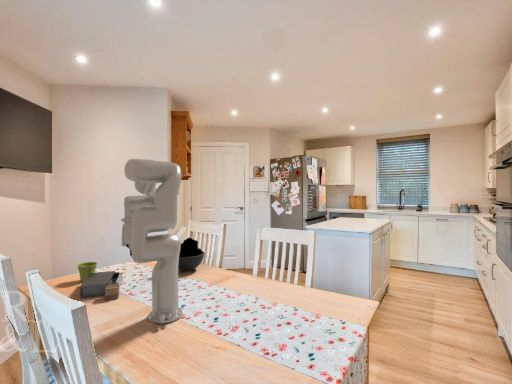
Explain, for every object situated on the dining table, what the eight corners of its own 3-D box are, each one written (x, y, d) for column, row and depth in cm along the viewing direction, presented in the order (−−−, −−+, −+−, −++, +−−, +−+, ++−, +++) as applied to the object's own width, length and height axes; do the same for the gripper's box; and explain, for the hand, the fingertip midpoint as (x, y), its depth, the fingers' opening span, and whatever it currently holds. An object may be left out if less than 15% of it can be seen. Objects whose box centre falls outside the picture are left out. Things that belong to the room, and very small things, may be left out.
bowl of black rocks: (206, 264, 176) (206, 235, 176) (202, 274, 156) (201, 241, 156) (174, 265, 175) (174, 236, 175) (166, 275, 155) (166, 242, 155)
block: (117, 298, 123) (117, 287, 123) (105, 300, 121) (105, 289, 121) (119, 294, 127) (119, 284, 127) (107, 296, 126) (107, 285, 126)
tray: (118, 290, 131) (118, 282, 131) (85, 294, 127) (85, 285, 127) (121, 281, 144) (121, 273, 144) (92, 284, 140) (92, 276, 140)
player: (117, 293, 128) (117, 282, 128) (80, 298, 123) (80, 286, 123) (122, 280, 147) (122, 270, 147) (90, 283, 142) (90, 273, 142)
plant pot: (101, 277, 151) (101, 262, 151) (89, 283, 142) (89, 267, 142) (85, 277, 152) (85, 261, 152) (72, 283, 143) (72, 266, 143)
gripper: (115, 222, 133) (116, 260, 133) (148, 220, 138) (149, 257, 138) (117, 220, 140) (117, 256, 140) (148, 219, 145) (149, 254, 145)
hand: (133, 256), depth 139 cm, fingers closed
